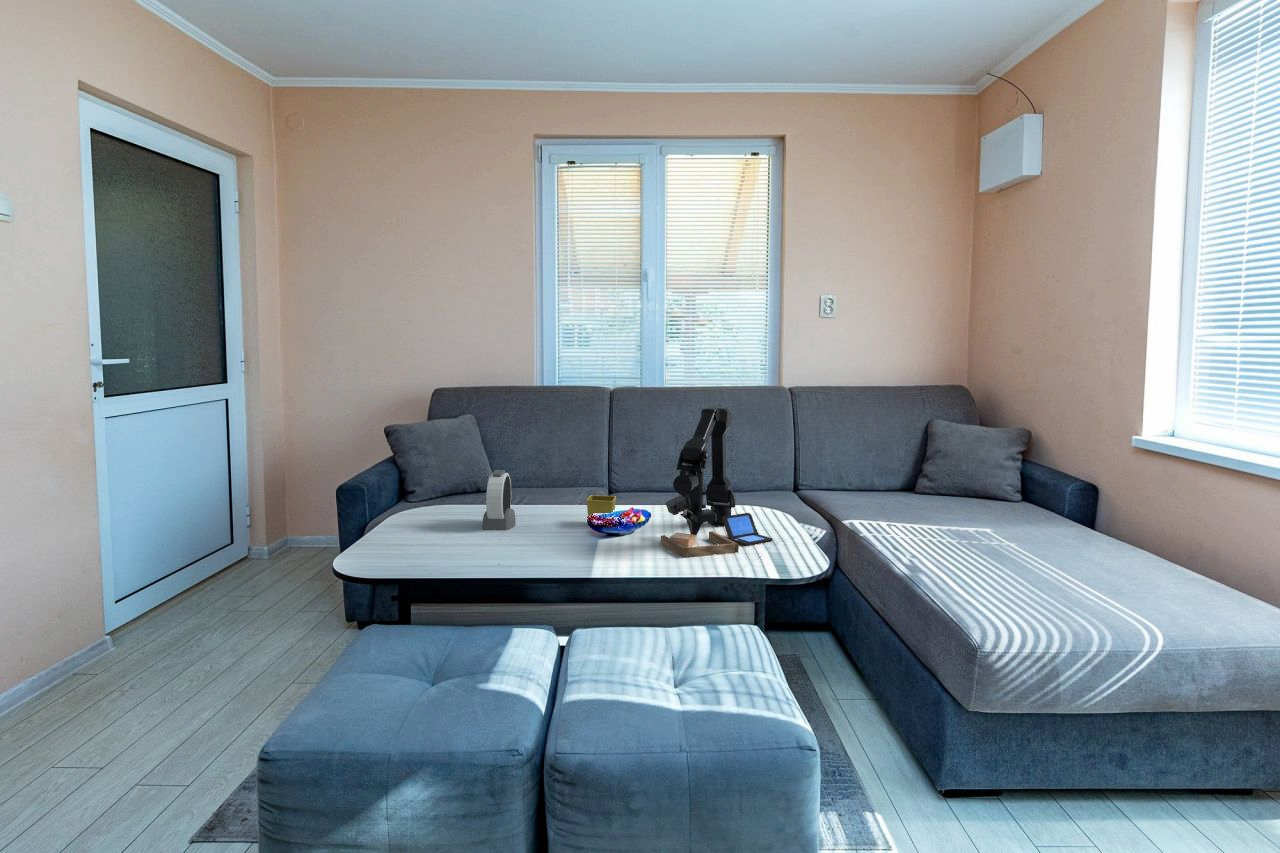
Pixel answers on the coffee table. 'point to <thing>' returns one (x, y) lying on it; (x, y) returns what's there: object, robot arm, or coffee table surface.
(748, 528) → the handheld game console
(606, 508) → the flower pot
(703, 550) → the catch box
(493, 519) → the grey ring on stand
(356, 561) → the coffee table surface
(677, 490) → the robot arm
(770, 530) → the coffee table surface
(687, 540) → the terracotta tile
